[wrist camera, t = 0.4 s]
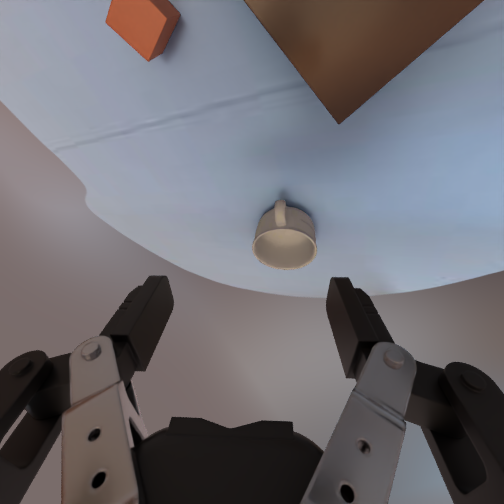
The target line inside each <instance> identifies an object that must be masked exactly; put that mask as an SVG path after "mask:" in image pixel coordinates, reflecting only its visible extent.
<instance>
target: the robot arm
mask: <svg viewBox="0 0 504 504" xmlns="http://www.w3.org/2000/svg"><path fill="white" fill-rule="evenodd" d="M173 306H174V300H173V295H172V291H171V288H170V284H169V281H168V278H167V276H149V277H148V278H147V280H146V281H145V283H144V284H143V286H138V287H137V288H135V289H134V290H133V291H131V292H130V293H129V294H128V296H127V297H126V299H125V300H124V303H122V304H121V306H120V307H119V310H117V311H116V312H115V314H114V315H113V317H112V318H111V319H110V321H109V322H108V324H107V325H106V326H105V328H104V329H103V331H102V332H101V334H100V335H99V336H96V337H93V338H90V339H88V340H86V341H84V342H83V343H81V344H80V345H79V346H77V347H76V349H75V350H74V351H73V352H72V353H68V354H64V355H60V356H56V357H53V358H48V356H47V355H46V354H45V353H44V352H43V351H39V350H36V351H31V352H27V353H24V354H22V355H20V356H18V357H16V358H15V359H13V360H12V361H10V362H9V363H8V364H6V365H5V366H4V367H3V368H2V369H1V370H0V443H1V441H2V439H3V437H4V436H5V434H6V433H7V432H8V430H9V429H10V427H11V426H12V425H13V423H14V422H15V421H16V419H17V418H18V417H19V415H20V414H21V413H22V411H23V410H24V409H25V410H26V411H27V413H26V415H25V416H24V418H23V419H22V420H21V422H20V423H19V424H18V426H17V427H16V429H15V430H14V431H13V433H12V434H11V436H10V437H9V439H8V440H7V441H6V443H5V444H4V445H3V447H2V448H1V450H0V504H19V503H20V502H21V500H22V498H23V497H24V495H25V493H26V491H27V490H28V488H29V486H30V484H31V483H32V481H33V479H34V478H35V476H36V474H37V472H38V470H39V469H40V467H41V465H42V464H43V462H44V460H45V458H46V457H47V455H48V453H49V451H50V450H51V448H52V446H53V444H54V443H55V441H56V439H57V437H58V436H59V434H60V432H61V430H62V480H61V481H62V482H61V483H62V484H61V486H62V487H61V489H62V490H61V498H62V500H61V504H388V501H389V497H390V492H391V488H392V484H393V480H394V476H395V472H396V468H397V464H398V460H399V455H400V452H401V448H402V443H403V439H404V435H405V431H406V422H404V420H406V421H409V422H411V423H414V424H417V425H419V426H421V429H422V431H423V433H424V435H425V438H426V440H427V442H428V445H429V447H430V449H431V452H432V454H433V456H434V458H435V461H436V463H437V466H438V468H439V470H440V472H441V475H442V477H443V480H444V482H445V484H446V486H447V489H448V491H449V494H450V496H451V498H452V500H453V503H454V504H504V394H503V392H502V391H501V390H500V389H499V387H498V386H497V385H496V384H495V382H494V381H493V380H492V379H491V378H490V377H489V376H487V375H486V374H485V373H484V372H482V371H481V370H479V369H477V368H476V367H473V366H471V365H469V364H466V363H462V362H452V363H449V364H448V365H447V366H446V367H445V369H442V368H439V367H435V366H432V365H428V364H425V363H421V362H419V361H416V360H414V358H413V357H412V355H411V354H410V353H409V352H408V351H406V350H405V349H404V348H402V347H401V346H399V345H397V344H395V343H394V341H393V339H392V337H391V336H390V334H389V332H388V330H387V328H386V326H385V325H384V323H383V321H382V319H381V317H380V315H379V314H378V312H377V310H376V308H375V307H374V304H373V302H372V301H371V299H370V297H369V296H368V295H367V294H366V293H365V292H364V291H363V290H362V289H360V288H354V287H353V285H352V283H351V281H350V279H349V278H348V277H332V278H331V280H330V284H329V289H328V295H327V300H326V311H327V315H328V319H329V322H330V325H331V329H332V332H333V336H334V339H335V342H336V346H337V349H338V352H339V356H340V359H341V362H342V366H343V369H344V372H345V375H346V378H354V379H356V382H357V383H356V386H355V388H354V389H353V390H352V392H351V395H350V397H349V399H348V401H347V403H346V405H345V408H344V410H343V412H342V414H341V416H340V418H339V420H338V423H337V425H336V427H335V429H334V431H333V433H332V436H331V438H330V440H329V442H328V444H327V447H326V449H325V451H323V450H322V449H321V448H320V447H318V446H317V445H316V444H315V443H314V442H313V441H311V440H310V439H308V438H306V437H305V436H303V435H301V434H299V433H297V432H294V431H293V423H292V422H288V421H258V422H255V423H251V424H247V425H243V426H240V427H236V428H226V427H224V426H221V425H218V424H215V423H213V422H210V421H207V420H205V419H202V418H187V417H185V418H184V417H172V418H171V421H170V424H169V427H167V428H164V429H161V430H159V431H157V432H155V433H153V434H151V435H150V436H149V435H148V432H147V430H146V427H145V425H144V422H143V419H142V415H141V411H140V407H139V403H138V399H137V396H136V392H135V388H134V384H133V381H132V377H133V375H134V372H135V371H146V368H147V366H148V364H149V362H150V360H151V357H152V355H153V353H154V350H155V348H156V346H157V344H158V342H159V340H160V337H161V335H162V333H163V331H164V328H165V326H166V324H167V322H168V319H169V317H170V315H171V313H172V310H173Z"/></svg>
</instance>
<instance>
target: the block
mask: <svg viewBox="0 0 504 504" xmlns="http://www.w3.org/2000/svg"><path fill="white" fill-rule="evenodd" d="M179 17H180V13H179V12H178V11H177V10H176V9H175V8H174V6H173V5H172V4H171V3H170V2H169V1H168V0H112V1H111V5H110V8H109V11H108V15H107V18H106V23H107V24H108V25H109V26H110V27H111V28H112V29H113V30H114V31H115V32H116V33H117V34H119V35H120V36H121V37H122V38H123V39H124V40H125V41H126V42H127V43H128V44H129V45H130V46H132V47H133V48H134V49H135V50H136V51H137V52H138V53H139V54H140V55H141V56H142V57H144V58H145V59H146V60H147V61H148V62H149V61H150V60H152V59H154V58H155V57H157V56H159V55H160V54H162V53H163V51H164V49H165V47H166V45H167V43H168V41H169V38H170V36H171V34H172V32H173V30H174V28H175V26H176V23H177V21H178V19H179Z"/></svg>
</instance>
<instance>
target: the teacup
mask: <svg viewBox="0 0 504 504" xmlns="http://www.w3.org/2000/svg"><path fill="white" fill-rule="evenodd" d="M252 250H253V253H254V255H255V257H256V258H257V259H258V260H259V261H260V262H261V263H263V264H265V265H267V266H269V267H272V268H276V269H282V270H291V269H298V268H301V267H304V266H306V265H307V264H309V263H310V262H312V260H313V259H314V258H315V256H316V253H317V246H316V237H315V228H314V225H313V222H312V220H311V218H310V217H309V216H308V215H307V214H306V213H305V212H303V211H301V210H300V209H297V208H294V207H287V206H286V202H285V201H284V200H277V201H276V202H275V208H274V209H272V210H270V211H268V212H267V213H265V214H264V215H263V216H262V218H261V219H260V221H259V223H258V226H257V230H256V234H255V239H254V242H253V246H252Z"/></svg>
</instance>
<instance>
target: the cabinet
mask: <svg viewBox="0 0 504 504" xmlns="http://www.w3.org/2000/svg"><path fill="white" fill-rule="evenodd" d="M244 1H245V3H246V4H247V5H248V7H249V8H250V9H251V11H252V12H253V13H254V14H255V16H256V17H257V18H258V20H259V21H260V22H261V24H262V25H263V26H264V28H265V29H266V30H267V31H268V33H269V34H270V35H271V37H272V38H273V39H274V41H275V42H276V43H277V45H278V46H279V47H280V49H281V50H282V51H283V52H284V54H285V55H286V56H287V58H288V59H289V60H290V62H291V63H292V64H293V66H294V67H295V68H296V69H297V71H298V72H299V73H300V75H301V76H302V77H303V79H304V80H305V81H306V83H307V84H308V85H309V86H310V88H311V89H312V90H313V92H314V93H315V94H316V96H317V97H318V98H319V100H320V101H321V102H322V103H323V105H324V106H325V107H326V109H327V110H328V111H329V113H330V114H331V115H332V117H333V118H334V119H335V120H336V122H337V123H338V124H340V123H341V122H343V121H344V120H345V119H346V118H347V117H348V116H350V115H351V114H352V113H353V112H354V111H355V110H357V109H358V108H359V107H360V106H361V105H362V104H364V103H365V102H366V101H367V100H368V99H369V98H371V97H372V96H373V95H374V94H375V93H376V92H378V91H379V90H380V89H381V88H382V87H383V86H385V85H386V84H387V83H388V82H389V81H390V80H392V79H393V78H394V77H395V76H396V75H397V74H399V73H400V72H401V71H402V70H403V69H404V68H406V67H407V66H408V65H409V64H410V63H411V62H413V61H414V60H415V59H416V58H417V57H418V56H420V55H421V54H422V53H423V52H424V51H425V50H427V49H428V48H429V47H430V46H431V45H432V44H434V43H435V42H436V41H437V40H438V39H439V38H441V37H442V36H443V35H444V34H445V33H446V32H448V31H449V30H450V29H451V28H452V27H453V26H455V25H456V24H457V23H458V22H459V21H460V20H462V19H463V18H464V17H465V16H466V15H467V14H469V13H470V12H471V11H472V10H473V9H474V8H476V7H477V6H478V5H479V4H480V3H481V2H483V1H484V0H244Z"/></svg>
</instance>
